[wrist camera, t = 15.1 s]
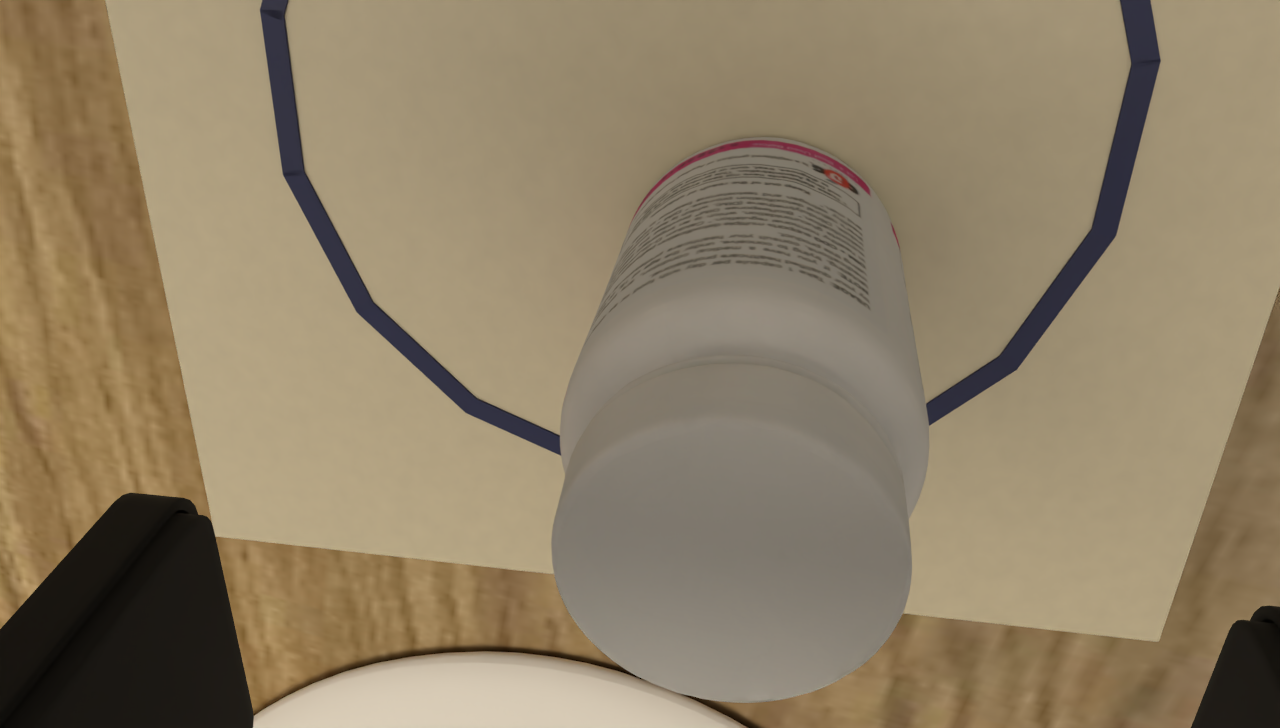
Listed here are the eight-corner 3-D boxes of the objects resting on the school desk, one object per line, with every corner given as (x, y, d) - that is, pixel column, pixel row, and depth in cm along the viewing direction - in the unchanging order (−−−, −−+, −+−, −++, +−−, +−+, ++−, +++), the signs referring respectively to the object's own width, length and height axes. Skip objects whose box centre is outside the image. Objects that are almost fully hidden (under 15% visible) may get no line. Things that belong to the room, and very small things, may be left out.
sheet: (-20, -666, 15) (-38, -675, 14) (1600, -690, 12) (1621, -701, 12) (221, 529, 24) (213, 538, 24) (1155, 632, 22) (1160, 645, 22)
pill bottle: (571, 234, 19) (425, 519, 12) (792, 72, 18) (776, 294, 10) (732, 424, 21) (687, 781, 14) (953, 293, 19) (1039, 626, 12)
